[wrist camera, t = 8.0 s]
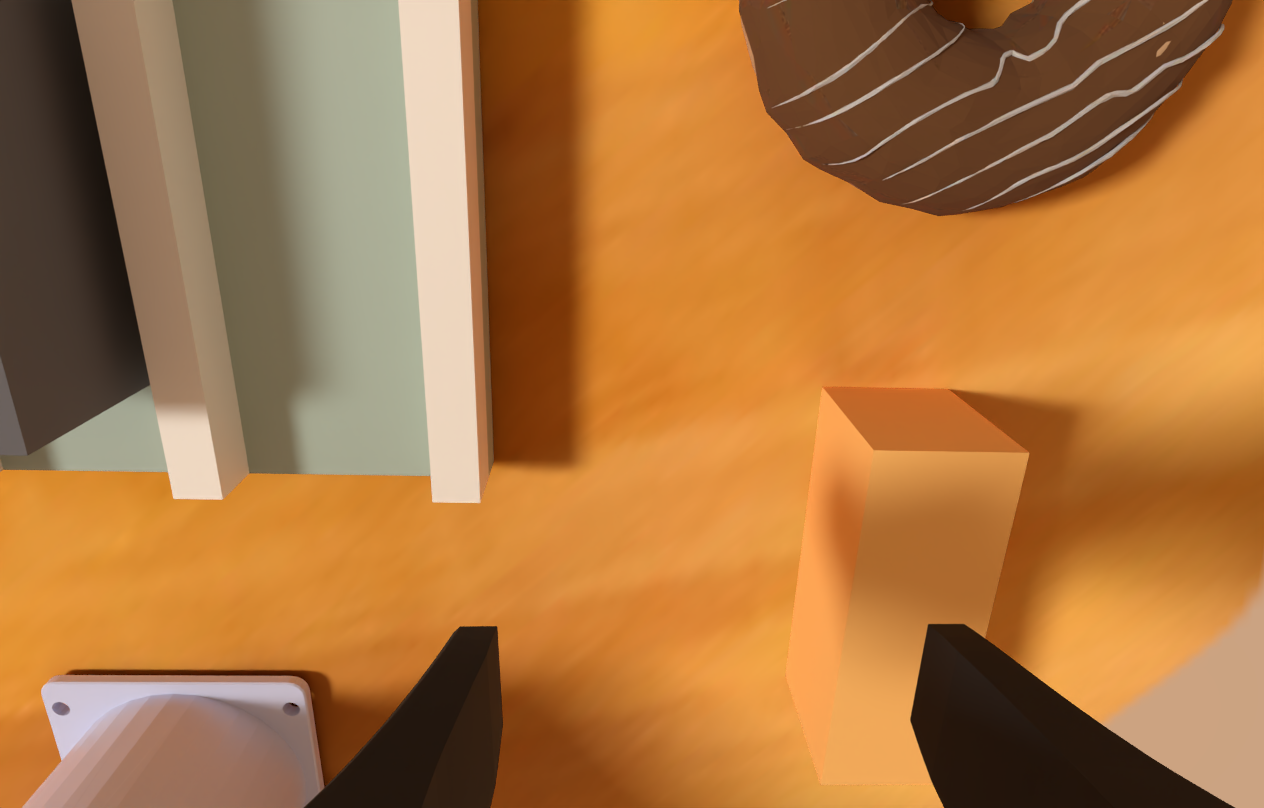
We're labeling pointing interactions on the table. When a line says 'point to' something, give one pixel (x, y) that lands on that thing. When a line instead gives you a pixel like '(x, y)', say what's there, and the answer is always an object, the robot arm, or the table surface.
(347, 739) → the table surface
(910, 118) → the donut
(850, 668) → the wooden block
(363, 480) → the table surface
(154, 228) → the comb board
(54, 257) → the dark grey block
